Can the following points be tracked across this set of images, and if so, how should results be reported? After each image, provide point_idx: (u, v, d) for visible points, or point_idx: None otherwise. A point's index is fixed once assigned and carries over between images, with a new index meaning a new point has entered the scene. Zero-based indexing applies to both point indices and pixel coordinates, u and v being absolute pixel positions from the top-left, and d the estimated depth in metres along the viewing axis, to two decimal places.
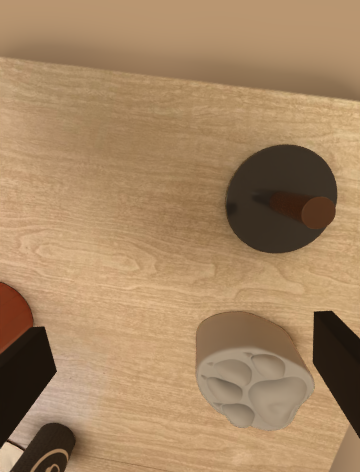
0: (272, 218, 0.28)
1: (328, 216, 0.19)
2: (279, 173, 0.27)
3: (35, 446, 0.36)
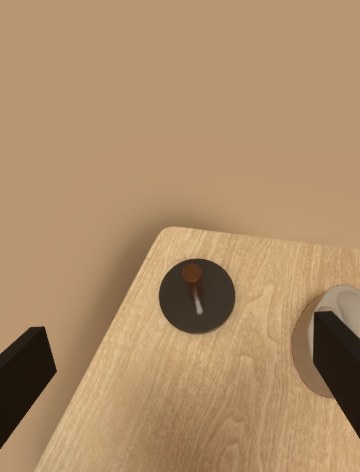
0: (207, 299, 0.38)
1: (194, 267, 0.32)
2: (177, 291, 0.40)
3: None
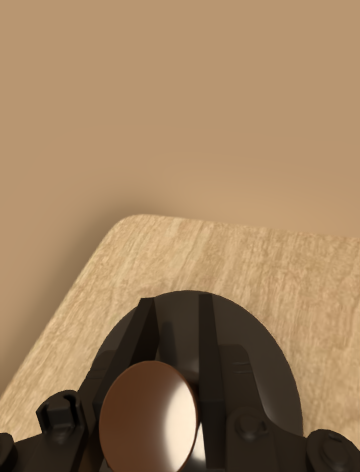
0: None
1: (165, 386, 0.06)
2: None
3: None
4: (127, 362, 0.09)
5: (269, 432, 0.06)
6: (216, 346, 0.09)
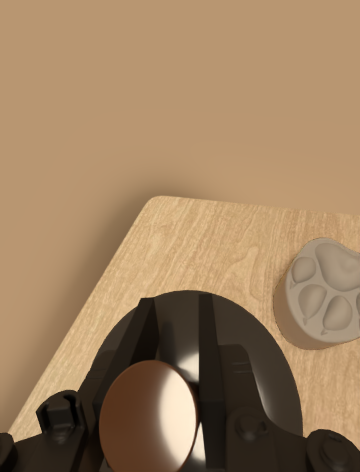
0: None
1: (165, 385, 0.06)
2: None
3: None
4: (127, 362, 0.09)
5: (269, 432, 0.06)
6: (216, 346, 0.09)
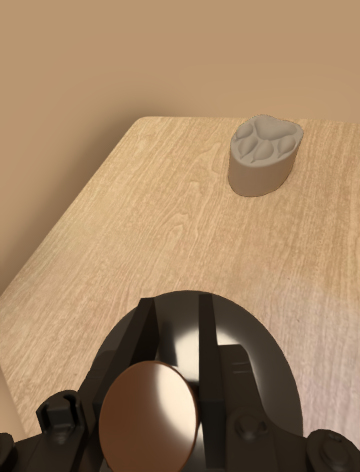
0: None
1: (165, 386, 0.06)
2: None
3: None
4: (127, 362, 0.09)
5: (269, 432, 0.06)
6: (216, 346, 0.09)
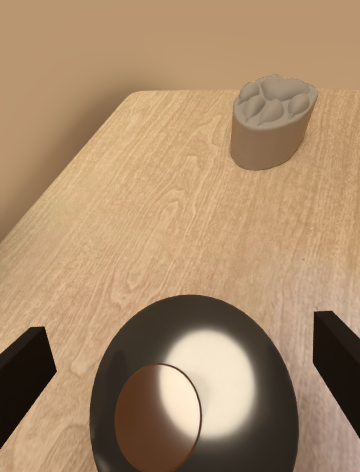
0: (218, 420, 0.14)
1: (172, 385, 0.07)
2: None
3: None
4: None
5: None
6: None
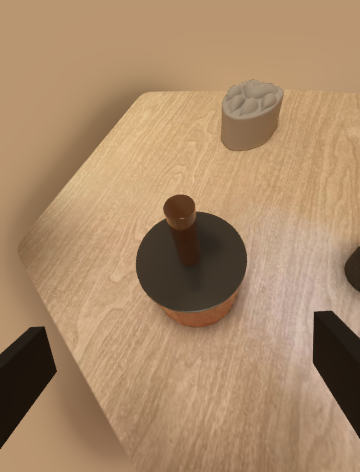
0: (205, 264, 0.26)
1: (184, 199, 0.19)
2: (162, 254, 0.27)
3: (357, 264, 0.30)
4: None
5: None
6: None
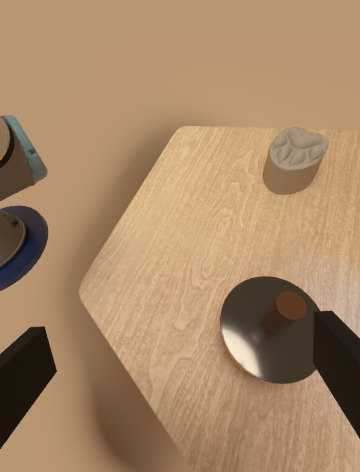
0: (288, 334, 0.28)
1: (294, 297, 0.22)
2: (245, 321, 0.30)
3: None
4: None
5: None
6: None
